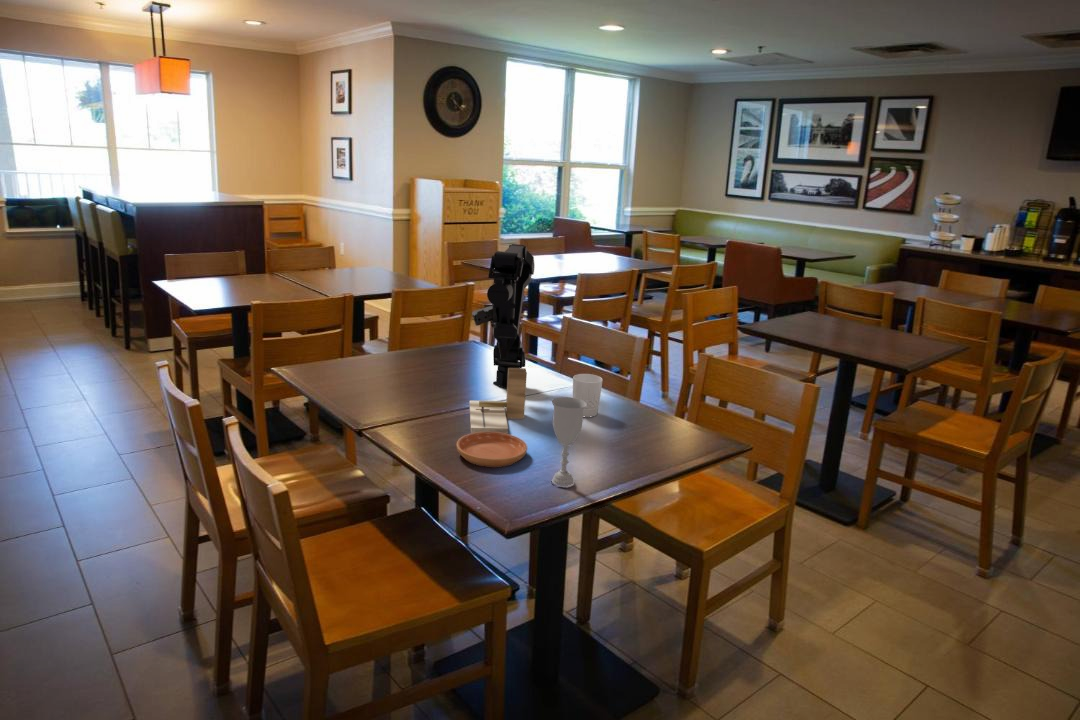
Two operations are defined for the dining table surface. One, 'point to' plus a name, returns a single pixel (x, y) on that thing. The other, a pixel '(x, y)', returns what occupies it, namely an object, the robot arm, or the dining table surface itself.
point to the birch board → (487, 419)
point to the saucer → (491, 448)
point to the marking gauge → (512, 394)
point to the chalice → (566, 431)
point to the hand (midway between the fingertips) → (501, 354)
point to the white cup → (588, 392)
